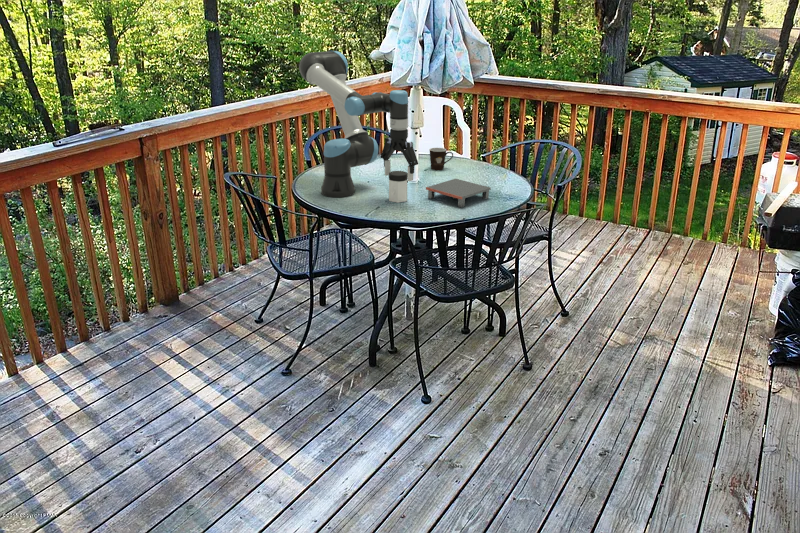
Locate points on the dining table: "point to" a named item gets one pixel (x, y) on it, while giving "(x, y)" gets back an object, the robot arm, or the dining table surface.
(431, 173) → the dining table surface
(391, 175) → the jar
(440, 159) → the coffee mug
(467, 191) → the stand
